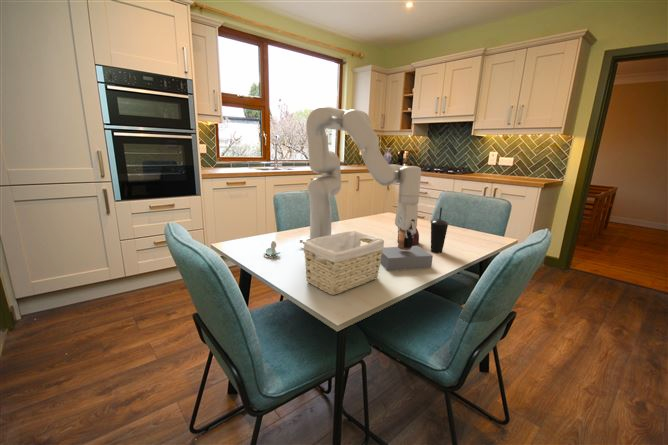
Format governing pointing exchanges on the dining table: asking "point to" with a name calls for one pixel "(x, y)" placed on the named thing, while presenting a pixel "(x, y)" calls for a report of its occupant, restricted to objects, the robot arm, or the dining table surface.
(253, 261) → the dining table surface
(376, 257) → the storage basket
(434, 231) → the drinking cup
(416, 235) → the vegetable
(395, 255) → the stand
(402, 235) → the cylinder
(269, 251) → the pacifier
